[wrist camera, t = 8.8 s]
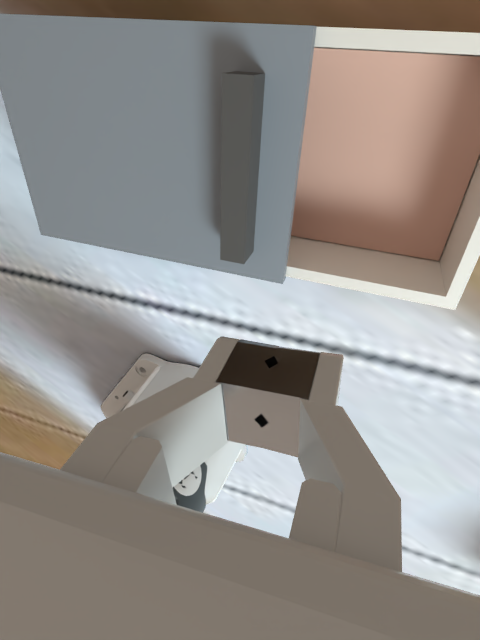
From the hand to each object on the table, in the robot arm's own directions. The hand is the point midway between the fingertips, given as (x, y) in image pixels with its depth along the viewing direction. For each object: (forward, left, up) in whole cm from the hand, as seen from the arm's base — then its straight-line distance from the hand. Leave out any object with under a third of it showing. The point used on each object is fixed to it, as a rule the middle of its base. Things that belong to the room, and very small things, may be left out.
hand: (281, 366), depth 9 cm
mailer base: (-1, +1, -23) cm, 23 cm away
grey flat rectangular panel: (-9, +9, -16) cm, 21 cm away
